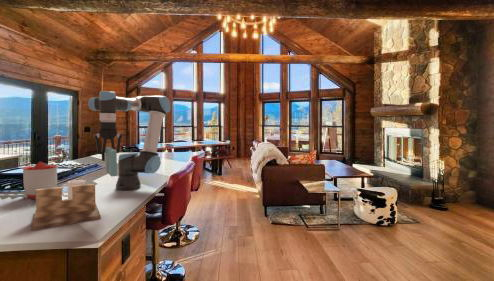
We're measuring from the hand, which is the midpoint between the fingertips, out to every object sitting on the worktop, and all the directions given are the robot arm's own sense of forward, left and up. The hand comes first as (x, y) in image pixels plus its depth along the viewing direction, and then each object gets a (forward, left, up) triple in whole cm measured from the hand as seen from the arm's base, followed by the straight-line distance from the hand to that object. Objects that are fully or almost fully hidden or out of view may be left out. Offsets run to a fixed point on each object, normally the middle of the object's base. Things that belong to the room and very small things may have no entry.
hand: (108, 166), depth 136 cm
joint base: (+18, +9, -20) cm, 28 cm away
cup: (+15, -20, -20) cm, 32 cm away
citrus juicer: (+30, -37, -20) cm, 52 cm away
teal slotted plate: (0, +7, -2) cm, 7 cm away
